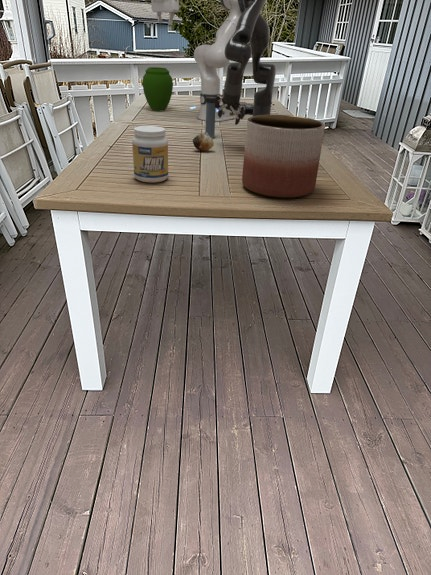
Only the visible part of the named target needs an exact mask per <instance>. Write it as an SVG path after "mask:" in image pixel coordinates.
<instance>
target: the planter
mask: <svg viewBox="0 0 431 575" xmlns="http://www.w3.org/2000/svg"><path fill="white" fill-rule="evenodd" d="M325 130H326V124H325V122H322V121H321V120H318V119H314V118H311V117H306V116H300V115H292V114H291V115H290V114H270V115H257V116H253V115H252V116H250V117H248V118H247V122H246V133H245V143H244V152H243V162H242V163H243V164H242V174H241V182H242V185H243V186H244V187H245V188H246V189H247V190H249V191H250V192H251V193H255V194H257V195H259V196H264V197H268V198H275V199H296V198H301V197H304V196H307V195H309V194H311V193H312V192H314V190H315V188H316V184H317V178H318V173H319V167H320V166H319V165H320V160H321V154H322V149H323V148H322V147H323V141H324V135H325Z"/></svg>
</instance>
